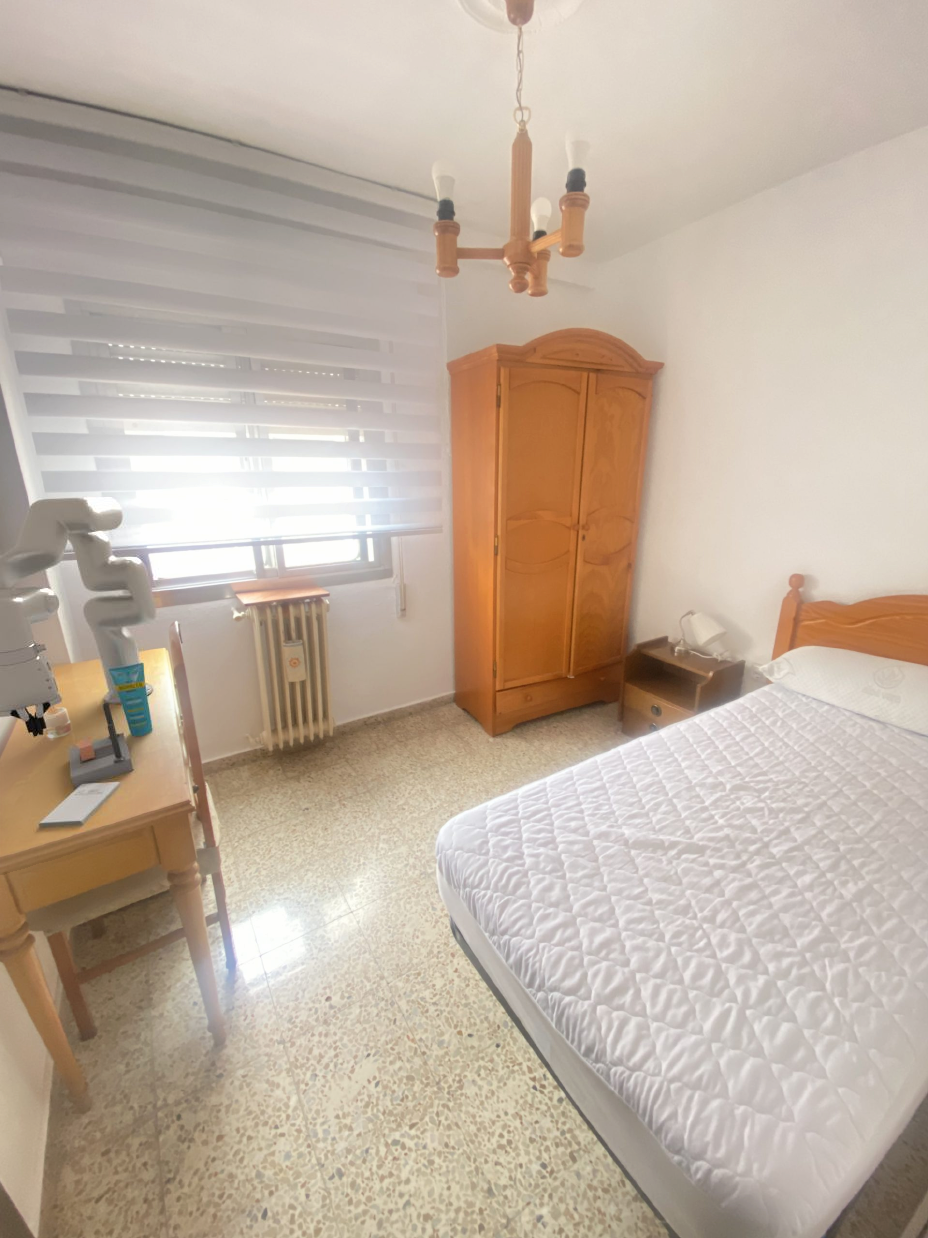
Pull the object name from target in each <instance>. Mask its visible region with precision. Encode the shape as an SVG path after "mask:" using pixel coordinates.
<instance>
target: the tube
mask: <svg viewBox="0 0 928 1238" xmlns="http://www.w3.org/2000/svg"><path fill="white" fill-rule="evenodd" d="M144 665H145V664H144V662H141V663H138V664H134V665H129V666H124V667H118V668H111V669H108V670H109V672H110V674H111V676H112V679H113V681H114V684H115V686H116V689H117V692H118V695H119V698H120V701H121V703H120V704H121V707H122V709H123V712H124V716H125V719H126V723H127V726H128V730H129V733H130V736H131V737H142V736H145V735H149V734H150V733H151V732H152V731H153V724H152V717H151V712H150V706H149V699H148V695H147V692H146V685H145V683H146V678H145V666H144Z"/></svg>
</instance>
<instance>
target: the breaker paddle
mask: <svg viewBox="0 0 928 1238" xmlns="http://www.w3.org/2000/svg"><path fill="white" fill-rule="evenodd" d="M92 742H93V741H92V738H91V737H90V738H86V739H83V740H79V741H77V746H78V747H79V752H80V755H81V759H82V761H84V760H88V759H91V758H94V757H95V753H94V748H93V745H92Z"/></svg>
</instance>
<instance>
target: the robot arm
mask: <svg viewBox="0 0 928 1238" xmlns="http://www.w3.org/2000/svg"><path fill="white" fill-rule="evenodd" d="M122 521H123V510H122V507H121V506H120V504H119V503H118V502H117V501H116V500H115V499H113V498H112V497H107V496H104V497H103V496H102V497H101V496H98V497H97V496H96V497H63V498H61V497H59V498H43V499H39V500H36V501H34V502H33V503H32V504H30V506H29V508H28V510H27V513H26V516H25V518H24V522H23V524H22V528H21V530H20V534H19V536H18V539H17V541H16V544H15V546H14V547H13V548H11V549H9V550H8V551H6V552H5V553H3V554H2V555H0V718H3V717H4V718H5V717H14V718H17V719H19V720H21V721H22V722H24V724H25V726H26V730H27V733H28V734H30V733H31V734H32V736H33V738H36V737H38V736H43V735H44V730H45V729H47V723H46V720H45V717H44V715H45V714H46V712H47V711H48V710H49V709H50V708H51V707H54V706H55V705H58V704H59V703H62V701H63V698H62V696H61V695H60V693H59V691H58V684H57V681H56V679H55V676H54V672H53V671H52V668H51V666H50V664H49V662H48V660H47V658H46V657H45V655H44V654H42V653H41V652H44V651H47V647H46V644H45V643H44V644H38V643H36V641H35V638H34V634H33V631H32V628H31V625H32V624H35V623H40V622H43V621H47V620H49V619H51V618H52V617H54V615H56V614H57V612H58V610H59V607H60V599H59V597H58V595H57V593H56V592H55V591H53V590H52V589H49V588H47V587H43V586H26V587H23V586H22V587H12V586H13V585H15V584H16V583H18V582H20V581H22V580H23V579H25V578H27V577H30V576H33V575H35V574H38V573H42V572H43V571H46V570H48V569H51V568H53V567H55V566H57V565H59V564H60V563H61V562H62V561H63V558H64V555H65V551H66V547H67V544H68V541H69V542H70V545H71V546H72V549H73V553H74V556H75V559H76V563H77V567H78V570H79V574H80V579H81V581H82V583H83V586H84V588H85V589H87V590H88V591H90V592H96V593H99V592H100V593H104V592H118V591H119V592H121V591H128V592H129V593H124V594H119V593H118V594H108V595H107V594H106V595H98V596H94V597H92V598H89V599H88V600H87V601H85V603H84V606H83V609H82V610H83V611H82V612H83V616H84V619H85V621H86V623H87V624H88V626H89V628H90V630H91V633H92V636H93V638H94V641H95V645H96V648H97V651H98V657H99V660H100V664H101V667H102V672H103V675H104V679H105V682H106V687H107V690H108V691H107V692H106V693H105V694H104V696H103V700H104V703H108V704H113V705H116V704H119V705H120V704H121V701H120V698H119V695H118V692H117V689H116V686H115V684H114V681H113V679H112V676H111V674H110V672H109V670H108V669H111V668H118V667H124V666H129V665H134V664H138V663H142V662H141V659H140V655H139V654H140V653H139V649H138V646H137V640H136V638H135V636H134V635H133V633H132V632H131V631H130V630H129V629H127V627H136V626H137V627H138V626H146V625H149V624H151V623H153V622H154V621H156V620H155V619H156V617H157V608H156V603H155V599H154V594H153V590H152V586H151V581H150V576H149V575H150V574H149V572H148V569H147V566H146V565H145V563H144V562H143V560H142V559H140V558H138V557H134V556H123V557H121V556H119V557H117V556H115V555H114V553H113V549H112V546H111V542H110V540H109V538H108V537H107V535H106V534H105V533H104V532H106V531H112V530H116V529H117V528H119V527H120V526H121V524H122ZM145 685H146V692H147V696H148V695H150V694H151V693H152V692H153V690H154V688H153V685H152V684H151V683H147V682H145ZM33 706H34V707H35V712H34V715H33V714H32V713H31V712H29V709H28V707H29V708H30V707H33Z"/></svg>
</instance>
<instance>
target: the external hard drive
mask: <svg viewBox="0 0 928 1238" xmlns="http://www.w3.org/2000/svg"><path fill="white" fill-rule="evenodd" d="M120 786H121V783H120V782H119V781H112V782H110V781H109V782H95V783H89V784H81V785H80V786H79V787H78V788H76V789H74V791H73V792H71V793H70V794H69V795H68V796H67V797H66V798H65V799H63V801H61V802H60V803H59V804H58V805H57V806H56V807H55V808H54V809H52V810H51V811H50V813H48V814H47V815H46V816H45V817H44V818H42V820H41V821H40V822H38V827H39V828H51V827H53V828H54V827H69V826H72V827H73V826H84V824H85V823H86V822H87V821H88V820H89V819H90V818H91V817H92V816H93V815H94V814H95V812H97V811H98V810H99V809H100V808H101V806H102V805H103V804H104V803H105V802H106V801H107V800H108V799H109V798H110V797H111V796H112V795H113V794H114V793H115V792H116V791H117V789H119V788H120Z"/></svg>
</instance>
